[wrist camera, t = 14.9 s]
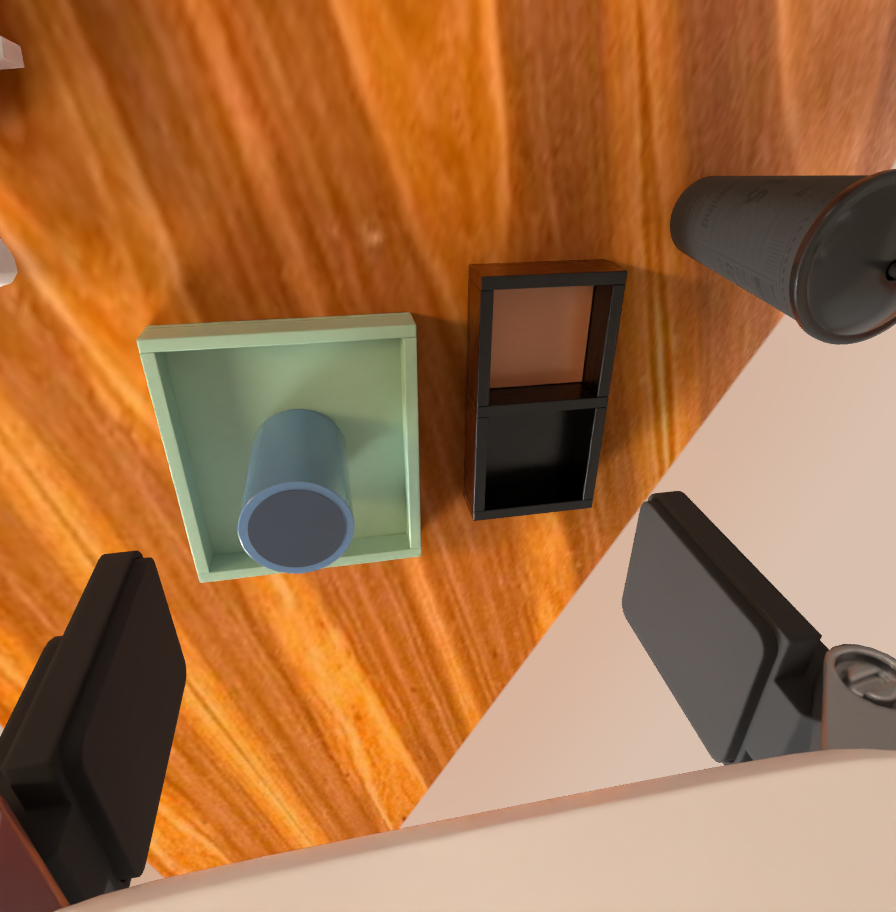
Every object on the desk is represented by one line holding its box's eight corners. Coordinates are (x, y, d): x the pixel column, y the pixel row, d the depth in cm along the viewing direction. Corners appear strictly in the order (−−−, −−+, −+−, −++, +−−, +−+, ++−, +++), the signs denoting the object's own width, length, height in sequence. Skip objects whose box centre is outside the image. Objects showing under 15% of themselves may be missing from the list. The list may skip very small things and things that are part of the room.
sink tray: (146, 325, 35) (135, 339, 33) (410, 311, 38) (416, 324, 36) (205, 559, 44) (199, 583, 42) (416, 535, 47) (421, 556, 45)
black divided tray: (468, 264, 37) (481, 276, 34) (605, 258, 39) (628, 270, 36) (463, 495, 46) (473, 521, 43) (575, 484, 47) (591, 507, 44)
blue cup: (244, 412, 38) (228, 488, 31) (342, 405, 40) (350, 476, 32) (259, 493, 42) (247, 580, 34) (350, 484, 43) (358, 567, 35)
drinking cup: (781, 207, 39) (1140, 283, 22) (693, 300, 41) (960, 434, 24) (718, 120, 36) (1086, 132, 19) (626, 225, 38) (882, 322, 21)
